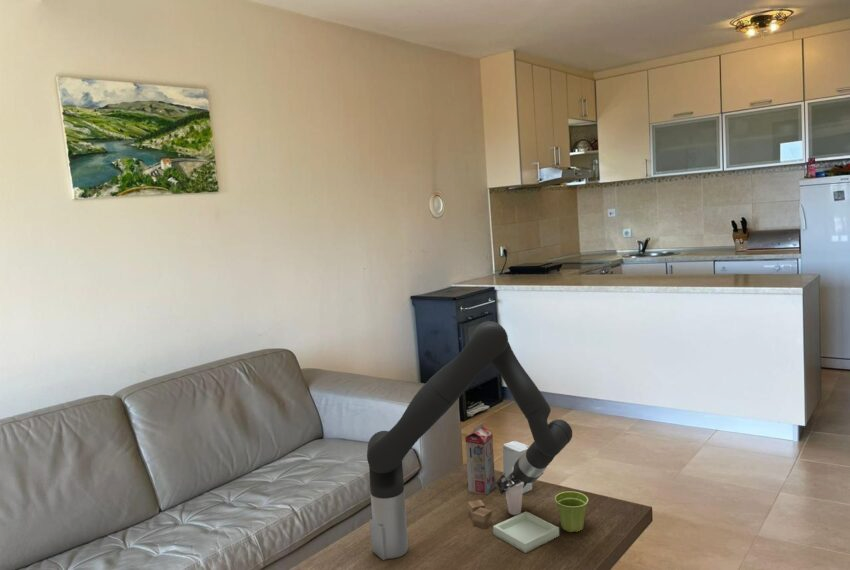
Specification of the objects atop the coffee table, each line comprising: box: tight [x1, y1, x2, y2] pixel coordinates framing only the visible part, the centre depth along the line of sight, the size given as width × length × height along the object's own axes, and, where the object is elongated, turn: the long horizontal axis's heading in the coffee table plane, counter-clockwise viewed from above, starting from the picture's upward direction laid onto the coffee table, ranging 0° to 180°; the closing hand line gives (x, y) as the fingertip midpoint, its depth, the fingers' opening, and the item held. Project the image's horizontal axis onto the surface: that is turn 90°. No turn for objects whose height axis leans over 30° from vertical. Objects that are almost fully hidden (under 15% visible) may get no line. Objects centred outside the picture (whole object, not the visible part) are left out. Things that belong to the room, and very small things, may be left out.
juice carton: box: [465, 421, 496, 495], centre depth 208 cm, size 7×7×22 cm
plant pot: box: [554, 490, 589, 533], centre depth 181 cm, size 9×9×9 cm
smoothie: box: [504, 467, 524, 516], centre depth 191 cm, size 6×6×14 cm
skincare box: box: [502, 440, 533, 495], centre depth 207 cm, size 8×6×15 cm
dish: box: [492, 511, 560, 554], centre depth 178 cm, size 13×13×2 cm
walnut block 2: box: [472, 507, 493, 530], centre depth 186 cm, size 4×4×4 cm
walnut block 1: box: [467, 499, 486, 520], centre depth 191 cm, size 4×4×4 cm
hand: (510, 488), depth 193 cm, fingers closed on smoothie, 6 cm apart
